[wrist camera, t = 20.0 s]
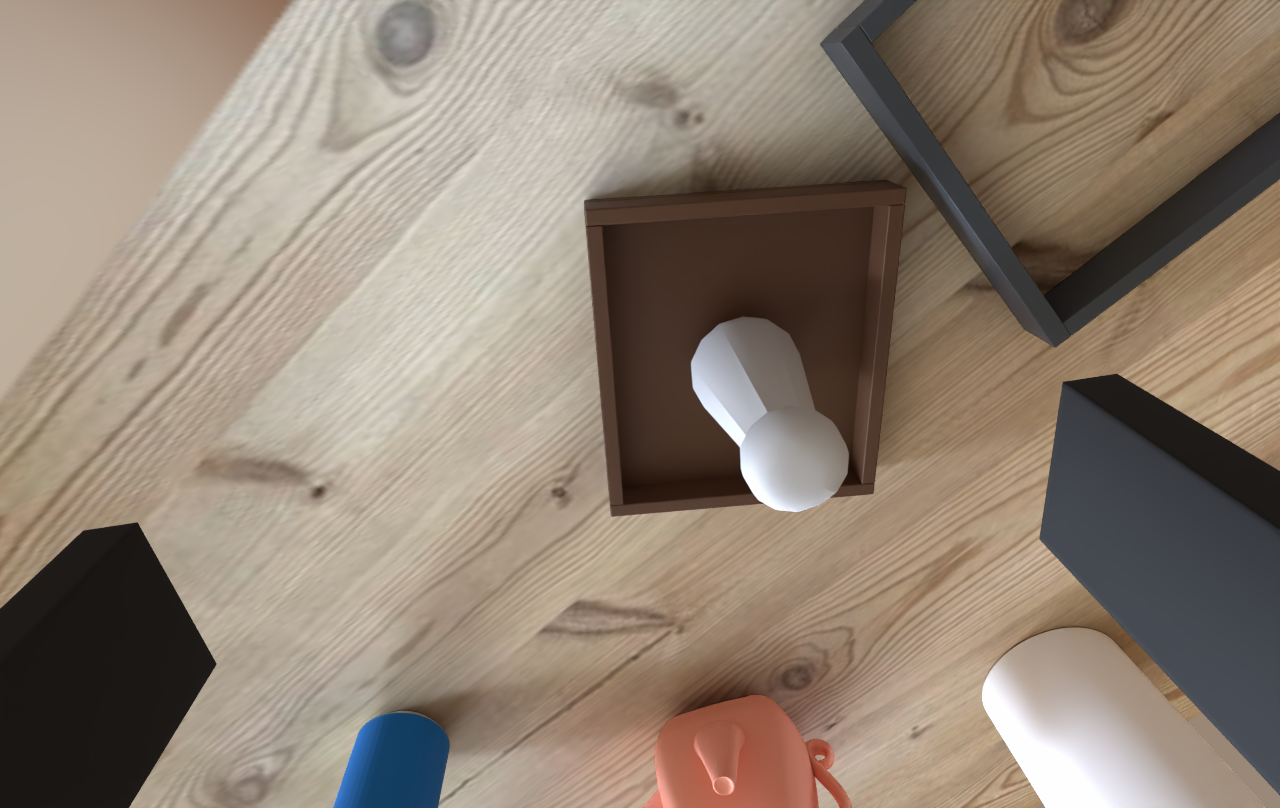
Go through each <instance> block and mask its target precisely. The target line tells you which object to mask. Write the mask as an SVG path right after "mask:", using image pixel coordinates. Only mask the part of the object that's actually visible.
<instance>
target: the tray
mask: <svg viewBox="0 0 1280 808" xmlns="http://www.w3.org/2000/svg"><path fill="white" fill-rule="evenodd" d="M905 197H906V188H905V187H902V186H900V185H897V184H894V183H892V182H890V181H888V180H877V181H862V182H847V183H833V184H818V185H803V186H788V187H774V188H759V189H744V190H730V191H715V192H700V193H685V194H671V195H656V196H641V197H626V198H612V199H597V200H585V201H584V213H585V224H586V236H587V247H588V259H589V270H590V282H591V293H592V305H593V316H594V328H595V339H596V351H597V363H598V374H599V386H600V397H601V409H602V420H603V432H604V443H605V455H606V466H607V478H608V489H609V501H610V512H611V516H612V517H613V516H625V515H636V514H648V513H660V512H671V511H683V510H694V509H706V508H717V507H729V506H740V505H752V504H764V503H763V502H761V501H759V500H758V499H757V498H756V496H755V495H754V494H753V492H752V491H751V489H750V487H749V486H748V484H747V482H746V481H745V479H744V477H743V475H742V471H741V459H740V447H739V446H738V445H737V443H736V442H735V441H734V440H733V439H732V438H731V437H730V436H729V434H728V433H727V432H726V431H725V430H724V429H723V428H722V427H721V425H720V424H719V423H718V422H717V421H716V420H715V419H714V418H713V417H712V415H711V414H710V413H709V412H708V411H707V410H706V409H705V408H704V406H703V405H702V403H701V401H700V399H699V398H698V396H697V394H696V392H695V391H694V389H693V384H692V371H691V361H692V359H693V357H694V355H695V353H696V350H697V348H698V346H699V344H700V342H701V340H702V339H703V338H704V337H705V336H706V335H707V334H709V333H710V332H711V331H712V330H713V329H714V328H715V327H716V326H717V325H718V324H720V323H723V322H727V321H730V320H733V319H736V318H740V317H743V316H744V317H753V318H762V319H767V320H769V321H770V322H772V323H774V324H775V325H777V326H778V327H780V328H781V329H783V330H784V331H786V332H787V333H788V334H789V335H790V337H791V338H792V340H793V342H794V344H795V346H796V348H797V350H798V352H799V354H800V357H801V361H802V364H803V368H804V371H805V375H806V379H807V382H808V386H809V389H810V393H811V397H812V400H813V404H814V408H815V410H816V411H817V412H819V413H821V414H822V415H824V416H825V417H827V418H828V419H830V420H831V421H832V422H833V423H834V424H835V426H836V427H837V429H838V431H839V432H840V434H841V436H842V438H843V440H844V442H845V443H846V446H847V449H848V452H849V460H848V474H847V475H846V477H845V479H844V481H843V482H842V484H841V486H840V488H839V489H838V491H837V492H836V493H835V494H834V495H832V496H831V497H830V498H833V497H845V496H856V495H868V494H873V493H874V482H875V475H876V466H877V457H878V448H879V438H880V429H881V420H882V411H883V402H884V392H885V383H886V374H887V365H888V356H889V346H890V337H891V328H892V319H893V310H894V300H895V291H896V282H897V273H898V264H899V254H900V245H901V236H902V227H903V218H904V208H905V205H904V203H905Z"/></svg>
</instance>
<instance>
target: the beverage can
mask: <svg viewBox="0 0 1280 808" xmlns="http://www.w3.org/2000/svg"><path fill="white" fill-rule="evenodd" d="M449 747H450V745H449V738H448V736H447V734H446V732H445V731H444V729H443V728H442V727H441V726H440V725H439V724H437V723H436V722H435V721H433V720H432V719H430V718H429V717H427V716H425V715H423V714H420V713H417V712H413V711H395V712H391V713H387V714H383V715H380V716H377V717H375V718H373V719H371V720H370V721H368V722H367V723H366V724H365V725H364V726H363V727H362V728H361V730H360V731H359V733H358V736H357V739H356V742H355V745H354V747H353V750H352V753H351V756H350V759H349V762H348V765H347V768H346V771H345V774H344V777H343V780H342V783H341V786H340V789H339V792H338V795H337V798H336V801H335V804H334V807H333V808H438V804H439V799H440V794H441V789H442V784H443V778H444V773H445V768H446V763H447V758H448V753H449Z"/></svg>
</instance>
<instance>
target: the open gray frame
mask: <svg viewBox="0 0 1280 808" xmlns="http://www.w3.org/2000/svg"><path fill="white" fill-rule="evenodd" d="M916 1H917V0H865V1H864V2H863V3H862V4H861V5H860V6H859V7H858V8H857V9H856V10H855V11H854V12H853V13H852V14H851V15H850V16H849V17H847V18H846V19H845V20H844V21H843V22H842V23H841V24H840V25H839V26H838V28H836V29H835V30H834V31H833V32H832V33H831V34H830V35H829V36H828V37H827V38H826V39H825V40H824V41H822V42H821V44H820V45H821V47H822V48H823V49H824V51H825V52H826V53H827V55H828V56H829V58H830V59H831V60H832V62H833V63H834V65H835V66H836V67H837V69H838V70H839V72H840V73H841V74H842V76H843V77H844V79H845V80H846V81H847V83H848V84H849V86H850V87H851V88H852V90H853V91H854V93H855V94H856V95H857V97H858V98H859V100H860V101H861V102H862V104H863V105H864V106H865V108H866V109H867V111H868V112H869V113H870V115H871V116H872V118H873V119H874V120H875V122H876V123H877V125H878V126H879V127H880V129H881V130H882V132H883V133H884V134H885V136H886V137H887V139H888V140H889V141H890V143H891V144H892V146H893V147H894V148H895V150H896V151H897V153H898V154H899V155H900V157H901V158H902V159H903V161H904V162H905V164H906V165H907V166H908V168H909V169H910V171H911V172H912V173H913V175H914V176H915V178H916V179H917V180H918V182H919V183H920V185H921V186H922V187H923V189H924V190H925V192H926V193H927V194H928V196H929V197H930V199H931V200H932V201H933V203H934V204H935V206H936V207H937V208H938V210H939V211H940V212H941V214H942V215H943V217H944V218H945V219H946V221H947V222H948V224H949V225H950V226H951V228H952V229H953V231H954V232H955V233H956V235H957V236H958V238H959V239H960V240H961V242H962V243H963V245H964V246H965V247H966V249H967V250H968V252H969V253H970V254H971V256H972V257H973V259H974V260H975V261H976V263H977V264H978V265H979V267H980V268H981V270H982V271H983V272H984V274H985V275H986V277H987V278H988V279H989V281H990V282H991V284H992V285H993V286H994V288H995V289H996V291H997V292H998V293H999V295H1000V296H1001V298H1002V299H1003V300H1004V302H1005V303H1006V305H1007V306H1008V307H1009V309H1010V310H1011V311H1012V313H1013V314H1014V316H1015V317H1016V318H1017V320H1018V321H1019V323H1020V324H1021V325H1022V327H1023V328H1024V329H1025V330H1027V331H1028V332H1030V333H1032V334H1033V335H1035V336H1037V337H1038V338H1040V339H1042V340H1043V341H1045V342H1047V343H1048V344H1050V345H1052V346H1053V347H1057V346H1058V345H1060V344H1061V343H1062V342H1064V341H1065V340H1066V339H1068V338H1069V337H1070V336H1071V335H1073V334H1074V333H1076V332H1077V331H1078V330H1080V329H1081V328H1082V327H1084V326H1085V325H1086V324H1088V323H1089V322H1090V321H1092V320H1093V319H1094V318H1096V317H1097V316H1098V315H1100V314H1101V313H1102V312H1104V311H1105V310H1106V309H1108V308H1109V307H1110V306H1112V305H1113V304H1114V303H1116V302H1117V301H1118V300H1119V299H1121V298H1122V297H1123V296H1125V295H1126V294H1127V293H1129V292H1130V291H1131V290H1133V289H1134V288H1135V287H1137V286H1138V285H1139V284H1141V283H1142V282H1143V281H1145V280H1146V279H1147V278H1149V277H1150V276H1151V275H1153V274H1154V273H1155V272H1157V271H1158V270H1159V269H1161V268H1162V267H1163V266H1165V265H1166V264H1167V263H1169V262H1170V261H1171V260H1173V259H1174V258H1175V257H1177V256H1178V255H1179V254H1181V253H1182V252H1183V251H1185V250H1186V249H1187V248H1189V247H1190V246H1191V245H1193V244H1194V243H1195V242H1197V241H1198V240H1199V239H1201V238H1202V237H1203V236H1205V235H1206V234H1207V233H1209V232H1210V231H1211V230H1213V229H1214V228H1215V227H1217V226H1218V225H1219V224H1221V223H1222V222H1223V221H1225V220H1226V219H1227V218H1229V217H1230V216H1231V215H1233V214H1234V213H1235V212H1237V211H1238V210H1239V209H1241V208H1242V207H1243V206H1245V205H1246V204H1247V203H1249V202H1250V201H1251V200H1253V199H1254V198H1255V197H1257V196H1258V195H1259V194H1261V193H1262V192H1263V191H1265V190H1266V189H1267V188H1269V187H1270V186H1271V185H1273V184H1274V183H1275V182H1277V181H1278V180H1279V179H1280V113H1279V114H1278V115H1277V116H1275V117H1274V118H1273V119H1271V120H1270V121H1269V122H1267V123H1266V124H1265V125H1264V126H1262V127H1261V128H1260V129H1258V130H1257V131H1256V132H1255V133H1253V134H1252V135H1251V136H1249V137H1248V138H1247V139H1246V140H1244V141H1243V142H1242V143H1240V144H1239V145H1238V146H1237V147H1235V148H1234V149H1233V150H1231V151H1230V152H1229V153H1228V154H1226V155H1225V156H1224V157H1222V158H1221V159H1220V160H1219V161H1217V162H1216V163H1215V164H1213V165H1212V166H1211V167H1209V168H1208V169H1207V170H1206V171H1204V172H1203V173H1202V174H1200V175H1199V176H1198V177H1197V178H1195V179H1194V180H1193V181H1191V182H1190V183H1189V184H1188V185H1186V186H1185V187H1184V188H1182V189H1181V190H1180V191H1179V192H1177V193H1176V194H1175V195H1173V196H1172V197H1171V198H1170V199H1168V200H1167V201H1166V202H1164V203H1163V204H1162V205H1161V206H1159V207H1158V208H1157V209H1155V210H1154V211H1153V212H1151V213H1150V214H1149V215H1148V216H1146V217H1145V218H1144V219H1142V220H1141V221H1140V222H1139V223H1137V224H1136V225H1135V226H1133V227H1132V228H1131V229H1130V230H1128V231H1127V232H1126V233H1124V234H1123V235H1122V236H1121V237H1119V238H1118V239H1117V240H1115V241H1114V242H1113V243H1112V244H1110V245H1109V246H1108V247H1106V248H1105V249H1104V250H1103V251H1101V252H1100V253H1099V254H1097V255H1096V256H1095V257H1093V258H1092V259H1091V260H1090V261H1088V262H1087V263H1086V264H1084V265H1083V266H1082V267H1081V268H1079V269H1078V270H1077V271H1075V272H1074V273H1073V274H1072V275H1070V276H1069V277H1068V278H1066V279H1065V280H1064V281H1063V282H1061V283H1060V284H1059V285H1057V286H1056V287H1055V288H1054V289H1052V290H1051V291H1050V292H1048V293H1047V294H1046V295H1045V296H1044V295H1043V294H1042V292H1041V291H1040V289H1039V288H1038V286H1037V285H1036V283H1035V282H1034V281H1033V279H1032V278H1031V276H1030V275H1029V273H1028V272H1027V270H1026V269H1025V267H1024V266H1023V264H1022V263H1021V262H1020V260H1019V259H1018V257H1017V256H1016V254H1015V253H1014V251H1013V250H1012V248H1011V247H1010V245H1009V244H1008V243H1007V241H1006V240H1005V238H1004V237H1003V235H1002V234H1001V232H1000V231H999V229H998V228H997V226H996V225H995V224H994V222H993V221H992V219H991V218H990V216H989V215H988V213H987V212H986V210H985V209H984V207H983V206H982V205H981V203H980V202H979V200H978V199H977V197H976V196H975V194H974V193H973V191H972V190H971V189H970V187H969V186H968V184H967V183H966V181H965V180H964V178H963V177H962V175H961V174H960V172H959V171H958V170H957V168H956V167H955V165H954V164H953V162H952V161H951V159H950V158H949V156H948V155H947V153H946V152H945V151H944V149H943V148H942V146H941V145H940V143H939V142H938V140H937V139H936V137H935V136H934V134H933V133H932V132H931V130H930V129H929V127H928V126H927V124H926V123H925V121H924V120H923V118H922V117H921V115H920V114H919V113H918V111H917V110H916V108H915V107H914V105H913V104H912V102H911V101H910V99H909V98H908V96H907V95H906V94H905V92H904V91H903V89H902V88H901V86H900V85H899V83H898V82H897V80H896V79H895V77H894V76H893V75H892V73H891V72H890V70H889V69H888V67H887V66H886V64H885V63H884V61H883V60H882V58H881V57H880V56H879V54H878V53H877V51H876V50H875V48H874V47H873V45H872V44H871V43H872V42H873V41H874V40H875V39H877V38H878V37H879V36H880V35H881V34H882V33H883V32H884V31H885V30H886V29H887V28H888V27H889V26H890V25H891V24H892V23H893V22H895V21H896V20H897V19H898V18H899V17H900V16H901V15H902V14H903V13H904V12H905V11H906V10H907V9H908V8H909V7H910V6H911V5H913V4H914V3H915V2H916Z"/></svg>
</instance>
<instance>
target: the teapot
mask: <svg viewBox="0 0 1280 808" xmlns="http://www.w3.org/2000/svg"><path fill="white" fill-rule="evenodd" d="M816 755H823V756H825V758H824V759H823V760H819V761H817V760H816V758H815V757H814V756H816ZM833 763H834V753H833V750H832V748H831V747H830V745H829V744H828V743H827V742H825V741H823V740H818V739H812V740H809V741H807V742H806V743H805V742H804V740H803V738H802V736H801V735H800V733H799V731H798V730H797V728H796V726H795V725H794V723H793V722H792V720H791V719H790V718H789V717H788V715H787V714H786V713H785V712H784V711H783V709H782V708H781V707H780V706H779V705H778V704H777V703H775V702H774V701H773V700H771V699H770V698H768V697H766V696H762V695H756V694H754V695H749V696H746V697H742V698H738V699H734V700H729V701H725V702H721V703H717V704H713V705H710V706H706V707H703V708H700V709H697V710H694V711H690V712H687V713H684V714H680V715H677V716H676V717H674V718H672V719H670V720H669V721H667V722H666V723H665V725H664V727H663V728H662V730H661V732H660V734H659V737H658V740H657V744H656V749H655V766H656V775H657V782H658V788H659V789H658V790H657V791H656V792H655V793H654V794H653V796H652V797H651V798H650V799H649V800H648V801H647V803H646V804H645V806H644V807H643V808H819V806H818V795H817V788H816V782H815V777H816V778H817V779H818V780H819V781H820V782H821V783H822V784H823V786H824V787H825V788H826V789H827V790H828V791H829V792H830V793H831V794H832V796H833V797H834V798H835V800H836V801H837V803H838V805H839V807H840V808H852V805H851V802H850V799H849V797H848V795H847V793H846V792H845V790H844V789H843V788H842V786H841V785H840V784H839V783H838V781H837V780H836V779H835V778H834V777H833V776H832V775H831V774H830V773H829V772H828V771H827V769H829V768H831V766H832V765H833ZM814 776H815V777H814Z"/></svg>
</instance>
